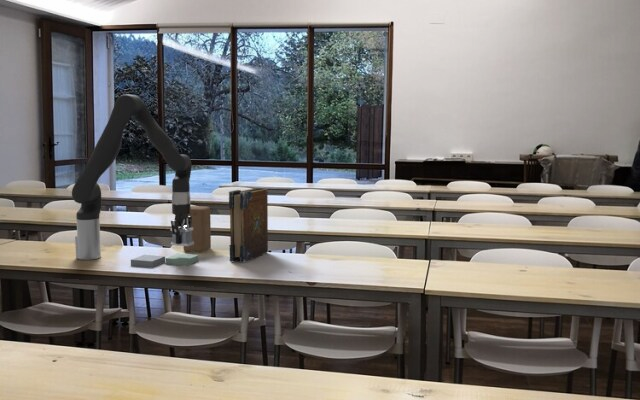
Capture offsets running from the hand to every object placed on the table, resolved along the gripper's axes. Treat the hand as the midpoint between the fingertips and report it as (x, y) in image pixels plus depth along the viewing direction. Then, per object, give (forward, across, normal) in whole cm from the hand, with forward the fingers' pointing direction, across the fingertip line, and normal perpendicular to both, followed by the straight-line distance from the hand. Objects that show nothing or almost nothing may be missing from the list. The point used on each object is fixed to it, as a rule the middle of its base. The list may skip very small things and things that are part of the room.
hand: (182, 242), depth 252 cm
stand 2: (+8, 0, 0) cm, 8 cm away
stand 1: (+8, +7, -12) cm, 16 cm away
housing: (+1, 0, 0) cm, 1 cm away
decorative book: (+9, -19, +23) cm, 31 cm away
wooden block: (+9, -25, -6) cm, 27 cm away
